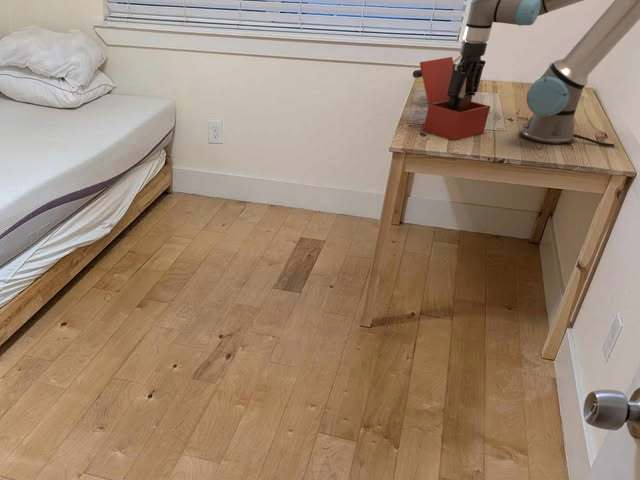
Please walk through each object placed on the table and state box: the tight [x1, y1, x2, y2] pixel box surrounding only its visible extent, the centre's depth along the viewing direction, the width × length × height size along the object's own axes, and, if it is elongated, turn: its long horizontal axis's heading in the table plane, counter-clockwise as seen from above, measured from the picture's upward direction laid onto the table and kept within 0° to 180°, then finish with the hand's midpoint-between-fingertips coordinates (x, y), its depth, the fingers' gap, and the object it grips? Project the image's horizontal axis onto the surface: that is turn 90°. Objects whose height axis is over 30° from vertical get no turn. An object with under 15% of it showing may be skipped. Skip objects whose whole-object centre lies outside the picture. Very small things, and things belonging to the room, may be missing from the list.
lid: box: [412, 56, 455, 104], centre depth 234 cm, size 14×16×8 cm
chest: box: [422, 100, 491, 141], centre depth 230 cm, size 13×16×9 cm
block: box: [447, 93, 474, 112], centre depth 228 cm, size 5×5×7 cm
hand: (456, 116), depth 229 cm, fingers closed on block, 5 cm apart
